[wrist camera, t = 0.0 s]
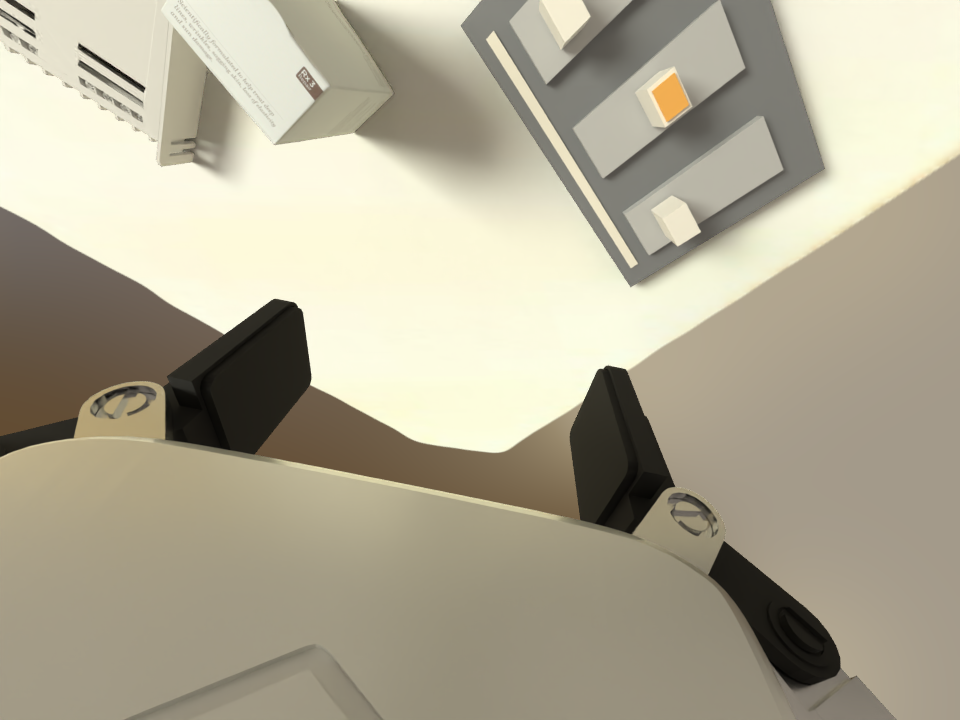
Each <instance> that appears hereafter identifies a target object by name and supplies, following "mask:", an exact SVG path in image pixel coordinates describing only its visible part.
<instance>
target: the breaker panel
mask: <svg viewBox="0 0 960 720" xmlns="http://www.w3.org/2000/svg"><path fill="white" fill-rule="evenodd" d="M582 1H583V3H584V5H585V6H586V8H587V10H588V12H589V14H590V16H591V17H590V19H589V20H588V22H587V23H586V25H585V26H584V28H583V29H582V30H581V31H580V32H579V33H578V34H577V35H576V36H575V37H574V38H573V39H572V40H571V41H570V42H569V43H568V44H567V45H566V46H565V47H564V48H563V49H562V50H561V49H560V47H559V46H558V44H557V42H556V40H555V38H554V37H553V35H552V33H551V31H550V30H549V28H548V26H547V24H546V22H545V21H544V19H543V17H542V15H541V14H540V12H539V2H540V0H481V2H480V3H479V4H478V5H477V6H476V8H475V9H474V10H473V11H472V13H471V14H470V15H469V16H468V17H467V19H466V20H465V21H464V22H463V23H462V25H461V27H462V29H463V30H464V32H465V33H466V35H467V36H468V38H469V39H470V41H471V42H472V44H473V45H474V47H475V49H476V50H477V52H478V53H479V55H480V56H481V58H482V59H483V61H484V62H485V64H486V65H487V67H488V69H489V70H490V72H491V73H492V75H493V76H494V78H495V79H496V81H497V82H498V84H499V85H500V87H501V89H502V90H503V92H504V93H505V95H506V96H507V98H508V99H509V101H510V102H511V104H512V105H513V107H514V109H515V110H516V112H517V113H518V115H519V116H520V118H521V119H522V121H523V122H524V124H525V125H526V127H527V129H528V130H529V132H530V133H531V135H532V136H533V138H534V139H535V141H536V142H537V144H538V145H539V147H540V148H541V150H542V152H543V153H544V155H545V156H546V158H547V159H548V161H549V162H550V164H551V165H552V167H553V168H554V170H555V172H556V173H557V175H558V176H559V178H560V179H561V181H562V182H563V184H564V185H565V187H566V188H567V190H568V192H569V193H570V195H571V196H572V198H573V199H574V201H575V202H576V204H577V205H578V207H579V208H580V210H581V212H582V213H583V215H584V216H585V218H586V219H587V221H588V222H589V224H590V225H591V227H592V228H593V230H594V232H595V233H596V235H597V236H598V238H599V239H600V241H601V242H602V244H603V245H604V247H605V248H606V250H607V252H608V253H609V255H610V256H611V258H612V259H613V261H614V262H615V264H616V265H617V267H618V268H619V270H620V272H621V273H622V275H623V276H624V278H625V279H626V281H627V282H628V284H629V285H630V287H632V286H633V285H635V284H637V283H638V282H640V281H642V280H643V279H645V278H646V277H648V276H650V275H651V274H653V273H655V272H656V271H658V270H660V269H661V268H663V267H664V266H666V265H668V264H669V263H671V262H673V261H674V260H676V259H678V258H679V257H681V256H683V255H684V254H686V253H687V252H689V251H691V250H692V249H694V248H696V247H697V246H699V245H701V244H702V243H704V242H705V241H707V240H709V239H710V238H712V237H714V236H715V235H717V234H719V233H720V232H722V231H723V230H725V229H727V228H728V227H730V226H732V225H733V224H735V223H737V222H738V221H740V220H741V219H743V218H745V217H746V216H748V215H750V214H751V213H753V212H755V211H756V210H758V209H759V208H761V207H763V206H764V205H766V204H768V203H769V202H771V201H773V200H774V199H776V198H777V197H779V196H781V195H782V194H784V193H786V192H787V191H789V190H791V189H792V188H794V187H795V186H797V185H799V184H800V183H802V182H804V181H805V180H807V179H809V178H810V177H812V176H813V175H815V174H817V173H818V172H820V171H822V170H823V169H825V168H824V165H823V162H822V159H821V156H820V152H819V149H818V146H817V143H816V140H815V137H814V134H813V131H812V128H811V125H810V121H809V118H808V115H807V112H806V109H805V106H804V103H803V100H802V97H801V94H800V91H799V87H798V84H797V81H796V78H795V75H794V72H793V69H792V66H791V63H790V60H789V57H788V53H787V50H786V47H785V44H784V41H783V38H782V35H781V32H780V29H779V26H778V23H777V19H776V16H775V13H774V10H773V7H772V4H771V1H770V0H582ZM671 67H675V69H676V71H677V73H678V75H679V78H680V80H681V82H682V84H683V87H684V89H685V91H686V93H687V95H688V98H689V100H690V102H691V104H692V107H691V108H690V109H689V110H687V111H686V112H685V113H684V114H682V115H681V116H680V117H678V118H677V119H676V120H675V121H673V122H672V123H671V124H669V125H668V126H667V127H666V128H664V127H653V126H652V125H651V123H650V121H649V119H648V117H647V115H646V113H645V111H644V109H643V107H642V105H641V103H640V102H639V100H638V98H637V96H636V94H635V92H636V91H637V90H638V89H639V88H640V87H641V86H643V85H644V84H645V83H646V82H647V81H648V80H650V79H651V78H652V77H653V76H654V75H655V74H657V73H658V72H659V71H662V70H665V69H668V68H671ZM670 196H674V197H676V198H678V199H680V200H682V201H683V202H685V203H686V204H687V206H688V208H689V210H690V212H691V214H692V216H693V218H694V219H695V221H696V223H697V225H698V227H699V229H700V231H701V232H700V233H699V234H697V235H695V236H694V237H692V238H691V239H689V240H687V241H686V242H684V243H683V244H681V245H679V246H676V245H675V244H674V243H673V242H672V241H671V240H670V239H668V238H667V237H666V236H665V235H664V233H663V231H662V229H661V227H660V226H659V224H658V222H657V220H656V218H655V217H654V215H653V213H652V211H651V209H653V208H654V207H656V206H657V205H659V204H660V203H661V202H663V201H664V200H666V199H667V198H669V197H670Z"/></svg>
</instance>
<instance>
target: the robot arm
mask: <svg viewBox="0 0 960 720" xmlns="http://www.w3.org/2000/svg"><path fill="white" fill-rule="evenodd" d="M167 378H168V380H169V383H168V384H167V385H165V386H164V387H161V386H160V385H159V384H156V383H152V382H145V381H137V382H128V383H123V384H119V385H115V386H112V387H110V388H107V389H105V390H102V391H100V392H99V393H97V394H95V395H94V396H92V397H90V398H89V399H88V400H87V401H86V402H85V403H84V404H83V406H82V408H81V410H80V413H79V417H77V418H73V419H69V420H65V421H61V422H57V423H53V424H49V425H44V426H40V427H36V428H33V429H28V430H25V431H21V432H16V433H12V434H8V435H4V436H0V720H896V718H895V717H894V716H893V715H892V714H891V713H890V712H889V711H888V710H887V709H886V707H885V706H884V705H883V704H882V703H881V702H880V701H879V700H878V699H877V698H876V696H875V695H874V694H873V693H872V692H871V691H870V690H869V689H868V688H867V687H866V685H865V684H864V683H863V682H862V681H861V680H860V679H859V678H858V677H857V676H855V677H852V678H849V676H848V675H847V674H846V673H845V672H844V671H843V670H842V669H841V668H840V656H839V653H838V650H837V647H836V645H835V643H834V641H833V640H832V638H831V636H830V634H829V633H828V631H827V630H826V629H825V628H824V626H823V625H822V624H821V623H820V621H819V620H818V619H817V618H816V617H815V616H814V615H813V614H812V613H811V612H809V611H808V610H807V609H806V608H805V607H804V606H803V605H802V604H800V603H799V602H798V601H797V600H795V599H794V598H793V597H792V596H791V595H789V594H788V593H787V592H786V591H784V590H783V589H782V588H781V587H780V586H778V585H777V584H776V583H775V582H774V581H772V580H771V579H770V578H769V577H767V576H766V575H765V574H764V573H763V572H761V571H760V570H759V569H758V568H756V567H755V566H754V565H753V564H752V563H750V562H749V561H748V560H747V559H745V558H744V557H743V556H742V555H741V554H739V553H738V552H737V551H736V550H734V549H733V548H732V547H731V546H730V545H728V544H727V543H726V542H725V541H724V539H725V534H726V529H725V525H724V522H723V520H722V518H721V516H720V515H719V513H718V512H717V511H716V510H715V508H714V507H713V506H712V505H711V504H710V503H709V502H708V501H706V500H705V499H704V498H703V497H701V496H700V495H698V494H696V493H695V492H693V491H690V490H687V489H685V488H679V487H675V485H674V483H673V480H672V478H671V475H670V473H669V470H668V468H667V465H666V463H665V460H664V458H663V455H662V453H661V451H660V448H659V445H658V443H657V440H656V438H655V435H654V433H653V430H652V428H651V425H650V423H649V420H648V419H647V417H646V416H644V413H643V411H642V408H641V406H640V403H639V401H638V398H637V395H636V393H635V390H634V388H633V385H632V383H631V380H630V378H629V375H628V372H627V371H626V369H622V368H617V367H612V366H606V367H605V368H604V369H599V370H598V371H597V373H596V375H595V377H594V379H593V381H592V384H591V386H590V388H589V390H588V392H587V395H586V397H585V399H584V401H583V404H582V406H581V408H580V410H579V413H578V415H577V417H576V420H575V421H574V424H573V426H572V428H571V432H570V445H571V452H572V460H573V467H574V475H575V482H576V489H577V497H578V505H579V513H580V520H576V519H572V518H567V517H562V516H558V515H553V514H548V513H544V512H540V511H535V510H530V509H526V508H521V507H516V506H511V505H506V504H501V503H496V502H491V501H486V500H481V499H476V498H471V497H467V496H462V495H456V494H452V493H447V492H442V491H437V490H431V489H427V488H422V487H417V486H412V485H407V484H402V483H397V482H392V481H387V480H381V479H377V478H371V477H367V476H362V475H356V474H351V473H346V472H341V471H336V470H331V469H326V468H321V467H315V466H310V465H304V464H300V463H294V462H289V461H284V460H279V459H274V458H269V457H263V456H258V455H254V454H255V453H256V452H257V451H258V449H259V448H260V447H261V446H262V444H263V443H264V442H265V441H266V439H267V438H268V437H269V436H270V434H271V433H272V432H273V431H274V429H275V428H276V427H277V426H278V424H279V423H280V422H281V421H282V419H283V418H284V417H285V416H286V414H287V413H288V412H289V411H290V409H291V408H292V407H293V406H294V405H295V403H296V402H297V401H298V399H299V398H300V397H301V396H302V395H303V393H304V392H305V391H306V390H307V388H308V387H309V385H310V383H311V369H310V362H309V354H308V347H307V340H306V332H305V325H304V318H303V312H302V310H301V309H300V308H298V306H297V305H296V304H295V303H294V302H289V301H284V300H279V299H273V300H271V301H270V302H269V303H267V304H266V305H265V306H263V307H262V308H260V309H259V310H258V311H256V312H255V313H254V314H252V315H251V316H249V317H248V318H247V319H245V320H244V321H243V322H241V323H240V324H238V325H237V326H236V327H234V328H233V329H232V330H230V331H229V332H227V333H226V334H225V335H223V336H222V337H220V338H219V339H218V340H216V341H215V342H214V343H212V344H211V345H209V346H208V347H207V348H205V349H204V350H203V351H201V352H200V353H198V354H197V355H196V356H194V357H193V358H192V359H190V360H189V361H187V362H186V363H185V364H183V365H182V366H181V367H179V368H178V369H176V370H175V371H174V372H172V373H171V374H170V375H168V376H167Z"/></svg>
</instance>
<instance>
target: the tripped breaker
mask: <svg viewBox="0 0 960 720" xmlns="http://www.w3.org/2000/svg"><path fill="white" fill-rule="evenodd" d="M635 94H636V96H637V98H638V100H639V102H640V103H641V105H642V107H643V109H644V111H645V113H646V115H647V117H648V119H649V121H650V123H651V125H652V126H653V127H664V128H666V127H667V126H668V125H669V124H671V123H672V122H673V121H675V120H676V119H677V118H678V117H680V116H681V115H682V114H684V113H685V112H686V111H687V110H689V109H690V108H691V107H692V104H691V102H690V100H689V98H688V95H687V93H686V91H685V89H684V87H683V84H682V82H681V80H680V78H679V75H678V73H677V71H676V69H675V67H671V68H668V69H665V70H662V71H659V72H658V73H657V74H655V75H654V76H653V77H652V78H651V79H650V80H648V81H647V82H646V83H645V84H644V85H643V86H641V87H640V88H639V89H638V90H637V91H636V92H635Z"/></svg>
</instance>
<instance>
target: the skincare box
mask: <svg viewBox="0 0 960 720" xmlns="http://www.w3.org/2000/svg"><path fill="white" fill-rule="evenodd" d="M161 12H162V14H163V15H164V16H165V17H166V19H167V20H168V21H169V22H170V23H171V25H172V26H173V27H174V28H175V29H176V30H177V32H178V33H179V34H180V35H181V36H182V37H183V39H184V40H185V41H186V42H187V43H188V45H189V46H190V47H191V48H192V49H193V50H194V52H195V53H196V54H197V55H198V56H199V58H200V59H201V60H202V61H203V62H204V63H205V65H206V66H207V67H208V68H209V69H210V71H211V72H212V73H213V74H214V75H215V76H216V78H217V79H218V80H219V81H220V82H221V84H222V85H223V86H224V87H225V88H226V89H227V91H228V92H229V93H230V94H231V95H232V96H233V98H234V99H235V100H236V101H237V102H238V103H239V105H240V106H241V107H242V108H243V109H244V111H245V112H246V113H247V114H248V115H249V116H250V118H251V119H252V120H253V121H254V122H255V123H256V125H257V126H258V127H259V128H260V129H261V130H262V132H263V133H264V134H265V135H266V136H267V138H268V139H269V140H270V141H271V142H272V143H273V144H274V145H278V144H286V143H292V142H300V141H306V140H311V139H318V138H325V137H332V136H338V135H344V134H351V133H354V132H355V131H356V130H357V129H358V128H359V127H360V126H361V125H362V124H363V123H364V122H365V121H366V120H367V119H368V118H369V117H370V116H371V115H372V114H373V113H375V112H376V111H377V110H378V109H379V108H380V107H381V106H382V105H383V104H384V103H385V102H386V101H387V100H388V99H389V98H390V97H391V96H392V95H393V94H394V92H393V90H392V88H391V87H390V85H389V83H388V82H387V80H386V79H385V77H384V76H383V74H382V73H381V71H380V69H379V68H378V66H377V65H376V63H375V62H374V60H373V58H372V57H371V55H370V54H369V52H368V51H367V49H366V48H365V46H364V45H363V43H362V41H361V40H360V38H359V37H358V35H357V34H356V32H355V31H354V29H353V28H352V26H351V25H350V23H349V22H348V21H347V19H346V18H345V17H344V15H343V14H342V12H341V10H340V9H339V7H338V5H337V4H336V2H335V0H167V1H166V2H165V4H164V6H163V7H162V10H161Z"/></svg>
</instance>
